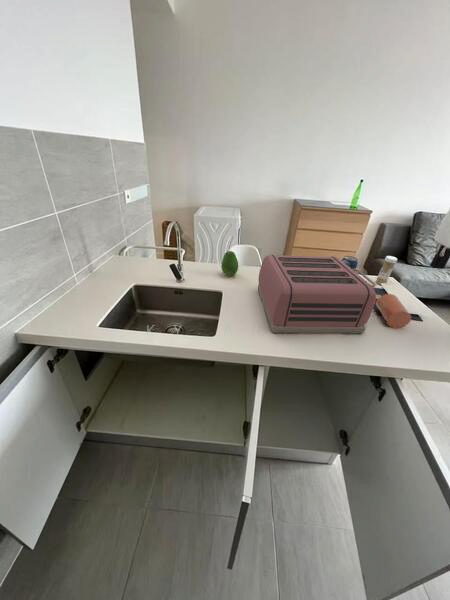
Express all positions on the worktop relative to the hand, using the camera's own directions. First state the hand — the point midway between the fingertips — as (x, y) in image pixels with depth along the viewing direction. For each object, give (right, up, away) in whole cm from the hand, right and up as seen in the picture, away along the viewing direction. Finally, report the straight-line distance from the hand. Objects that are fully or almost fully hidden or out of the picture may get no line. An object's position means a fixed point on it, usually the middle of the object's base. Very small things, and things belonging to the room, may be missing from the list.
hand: (436, 267), depth 76 cm
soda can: (-10, -2, +41) cm, 42 cm away
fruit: (-64, +1, +41) cm, 76 cm away
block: (-4, -9, +22) cm, 24 cm away
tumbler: (-6, -17, +8) cm, 20 cm away
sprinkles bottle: (+9, -3, +41) cm, 42 cm away
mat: (+2, -11, +26) cm, 29 cm away
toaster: (-34, -14, +18) cm, 41 cm away
